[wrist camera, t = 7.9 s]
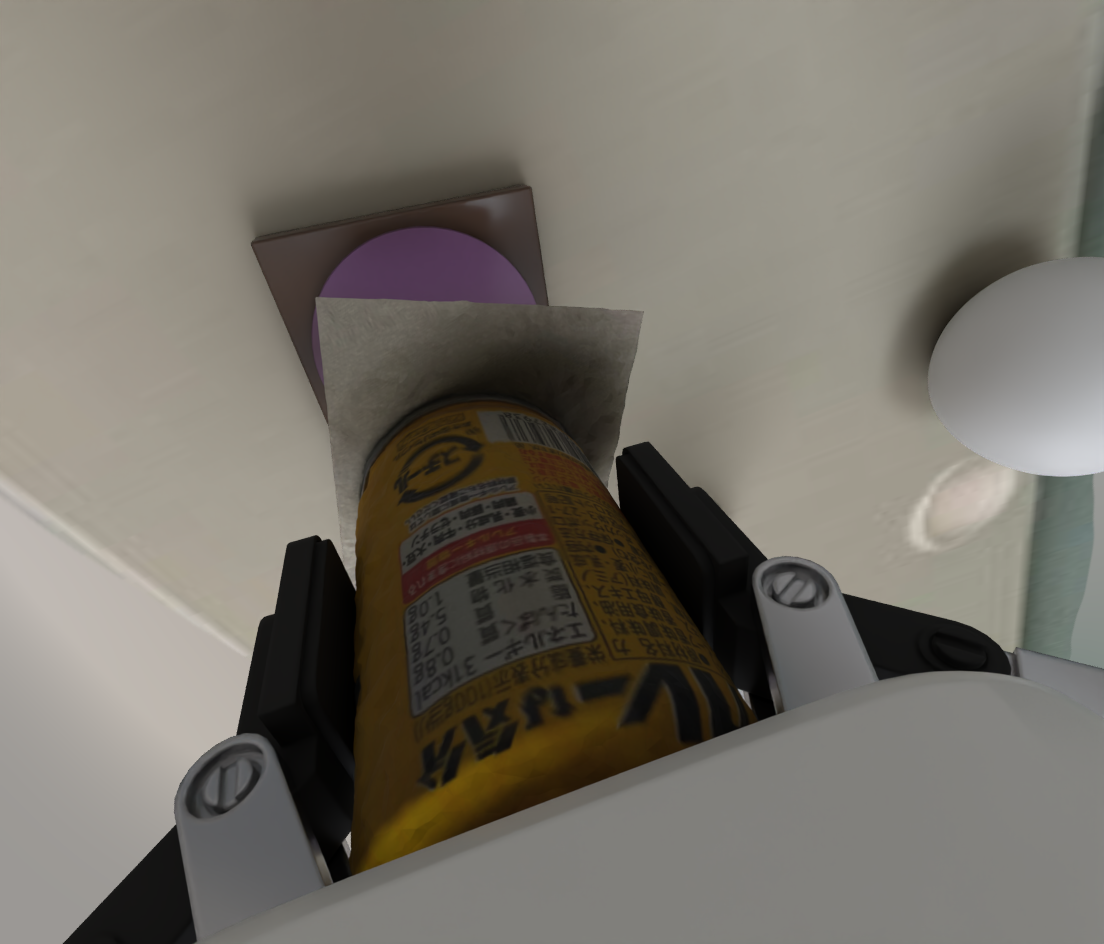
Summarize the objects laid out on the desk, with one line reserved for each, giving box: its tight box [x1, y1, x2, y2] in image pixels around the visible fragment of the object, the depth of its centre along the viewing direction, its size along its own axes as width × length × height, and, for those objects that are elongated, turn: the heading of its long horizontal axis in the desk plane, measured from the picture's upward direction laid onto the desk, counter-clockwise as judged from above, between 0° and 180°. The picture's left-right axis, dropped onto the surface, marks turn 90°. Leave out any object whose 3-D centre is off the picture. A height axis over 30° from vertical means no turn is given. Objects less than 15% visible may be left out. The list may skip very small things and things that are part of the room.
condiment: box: [315, 297, 758, 876], centre depth 10 cm, size 7×8×12 cm
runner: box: [251, 184, 549, 426], centre depth 29 cm, size 32×10×1 cm, turn 8°
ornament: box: [928, 257, 1104, 476], centre depth 27 cm, size 10×10×12 cm
